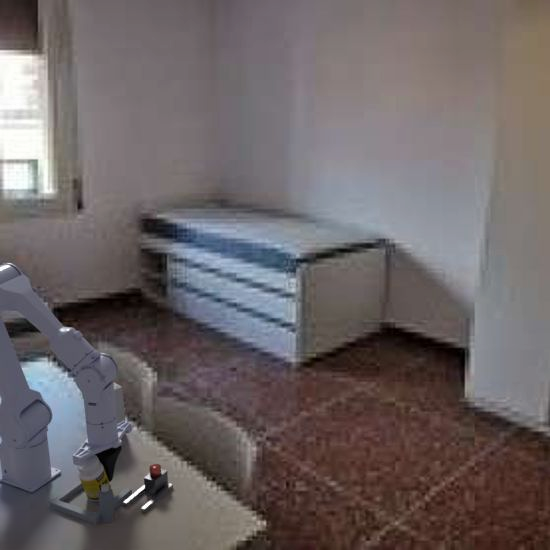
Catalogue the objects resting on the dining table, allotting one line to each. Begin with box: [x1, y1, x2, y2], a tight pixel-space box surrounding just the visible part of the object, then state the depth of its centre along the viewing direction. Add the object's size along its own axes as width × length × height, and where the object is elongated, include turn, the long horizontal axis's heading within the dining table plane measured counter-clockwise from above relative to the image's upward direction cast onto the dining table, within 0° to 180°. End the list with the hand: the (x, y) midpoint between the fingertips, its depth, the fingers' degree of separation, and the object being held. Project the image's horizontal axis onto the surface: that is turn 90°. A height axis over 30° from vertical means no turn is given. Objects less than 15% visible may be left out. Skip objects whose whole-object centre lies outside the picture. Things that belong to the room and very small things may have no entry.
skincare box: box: [112, 381, 127, 436], centre depth 151 cm, size 6×4×12 cm
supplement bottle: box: [76, 455, 112, 502], centre depth 128 cm, size 5×5×8 cm
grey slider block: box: [143, 463, 169, 497], centre depth 132 cm, size 3×4×5 cm, turn 153°
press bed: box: [48, 479, 133, 525], centre depth 128 cm, size 13×10×7 cm
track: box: [122, 482, 174, 514], centre depth 130 cm, size 5×9×1 cm, turn 153°
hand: (107, 479), depth 132 cm, fingers closed
